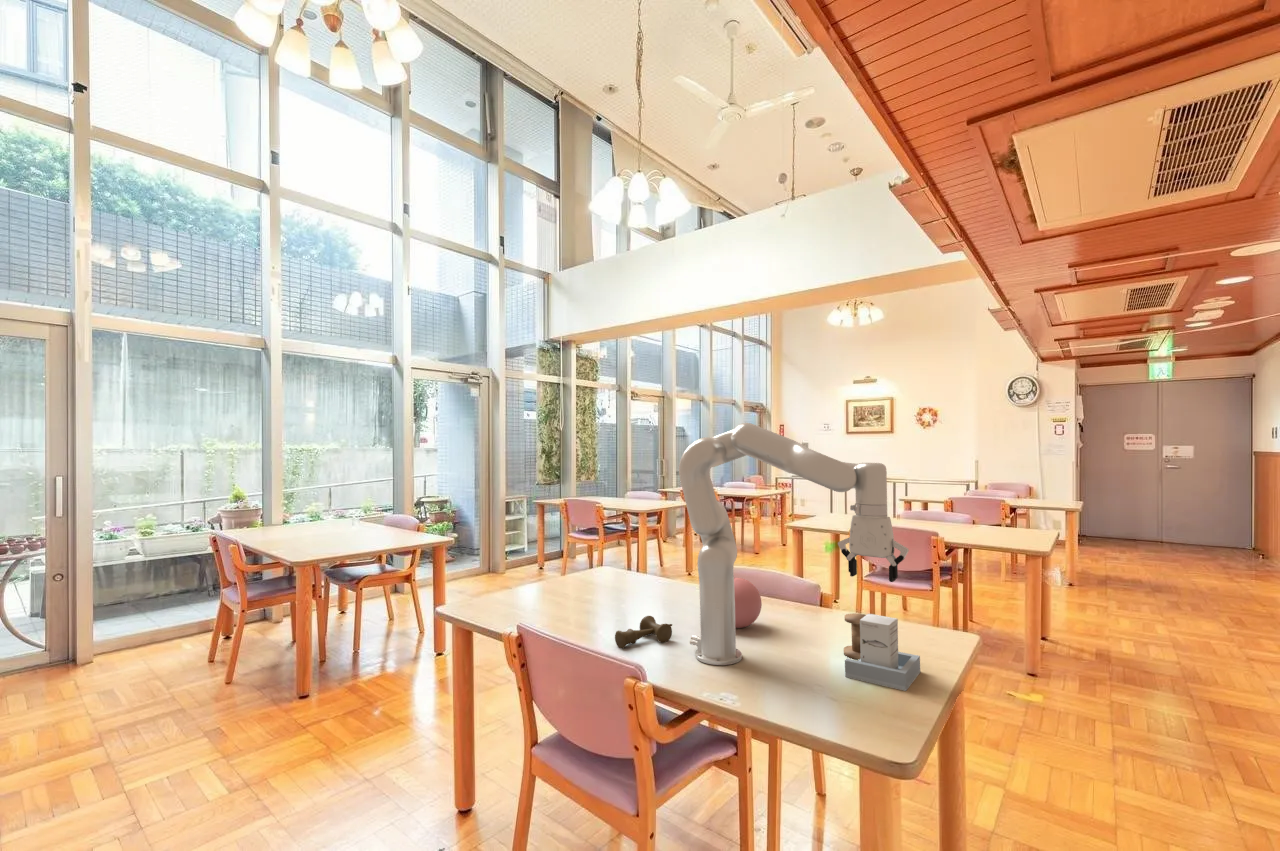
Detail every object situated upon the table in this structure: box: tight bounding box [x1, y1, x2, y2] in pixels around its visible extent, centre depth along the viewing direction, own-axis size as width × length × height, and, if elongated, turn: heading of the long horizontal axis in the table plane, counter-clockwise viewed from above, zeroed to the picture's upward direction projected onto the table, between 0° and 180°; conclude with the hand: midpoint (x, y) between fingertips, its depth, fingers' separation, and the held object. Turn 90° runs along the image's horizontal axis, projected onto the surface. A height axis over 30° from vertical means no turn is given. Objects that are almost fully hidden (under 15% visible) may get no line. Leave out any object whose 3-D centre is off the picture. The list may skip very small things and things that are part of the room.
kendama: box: [614, 615, 673, 650], centre depth 170 cm, size 6×10×20 cm
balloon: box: [734, 577, 763, 629], centre depth 184 cm, size 15×20×15 cm
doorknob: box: [843, 612, 867, 660], centre depth 156 cm, size 8×8×10 cm
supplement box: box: [860, 613, 899, 669], centre depth 143 cm, size 7×7×13 cm
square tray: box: [844, 651, 921, 692], centre depth 142 cm, size 14×14×4 cm
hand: (872, 578), depth 146 cm, fingers open, 9 cm apart
